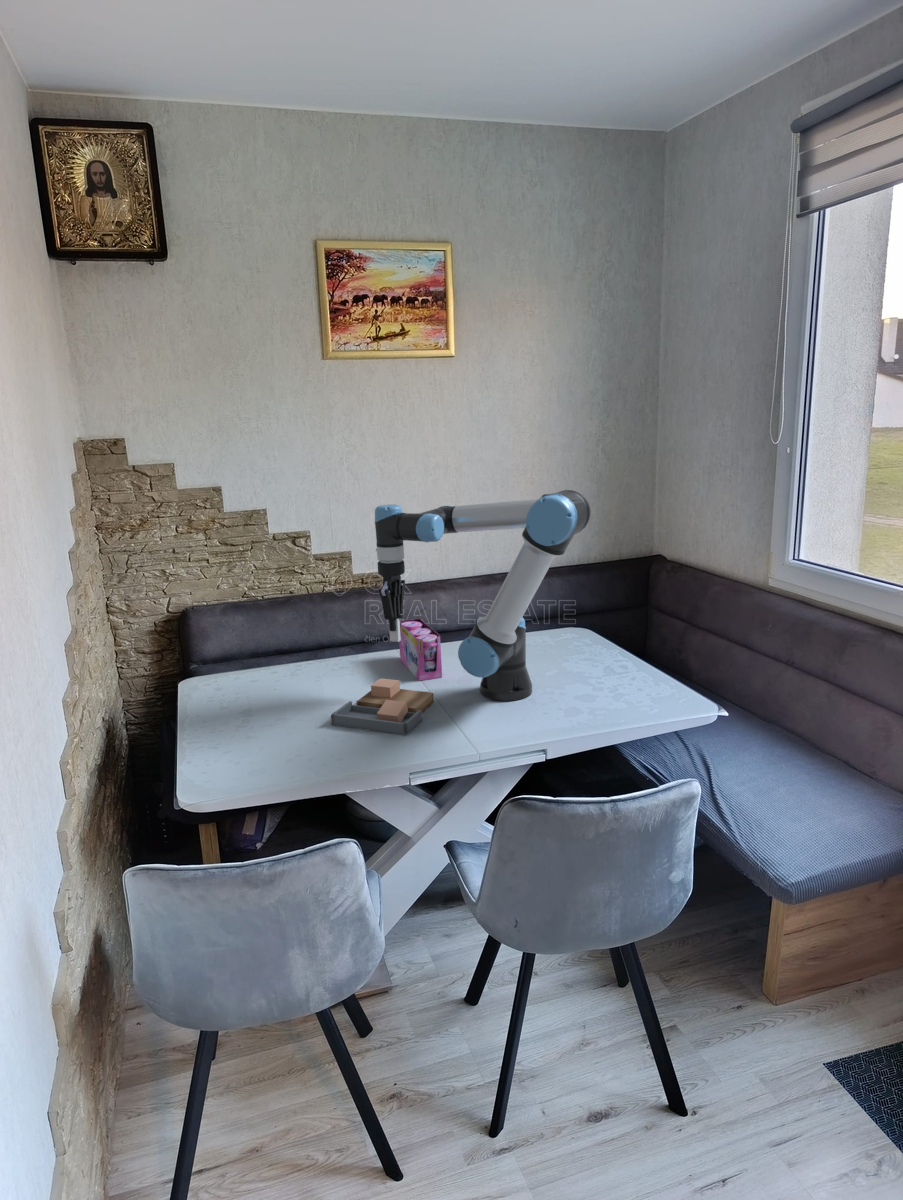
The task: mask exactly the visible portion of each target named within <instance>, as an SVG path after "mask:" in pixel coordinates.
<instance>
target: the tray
mask: <svg viewBox="0 0 903 1200" xmlns="http://www.w3.org/2000/svg"><path fill="white" fill-rule="evenodd" d="M379 710H380V708H374V707H366V706H358V705H357V704H353V701H351V700H349V701H348V702H346V703H345V704H343V705H342V706H341V707H340V708H337V709H336V711H334V712H333V713H331V715H330V718H331V726H335V727H336V726H337V727H342V728H351V729H357V730H364V731H370V732H371V731H373V732H379V733H386V734H393V735H401V736H407V735H409V734H410V733H411V732H412V731H413V730H414V729H415V728H416V727H417V726H418V725H419V724H421V723H422V722H423V713H422V710H418V711H417V712H416V713H414V712H407V714H406V715H405V717H404V718H403V720H402V721H401V722H393V721H386V720H378V716H377V712H378V711H379Z"/></svg>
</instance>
